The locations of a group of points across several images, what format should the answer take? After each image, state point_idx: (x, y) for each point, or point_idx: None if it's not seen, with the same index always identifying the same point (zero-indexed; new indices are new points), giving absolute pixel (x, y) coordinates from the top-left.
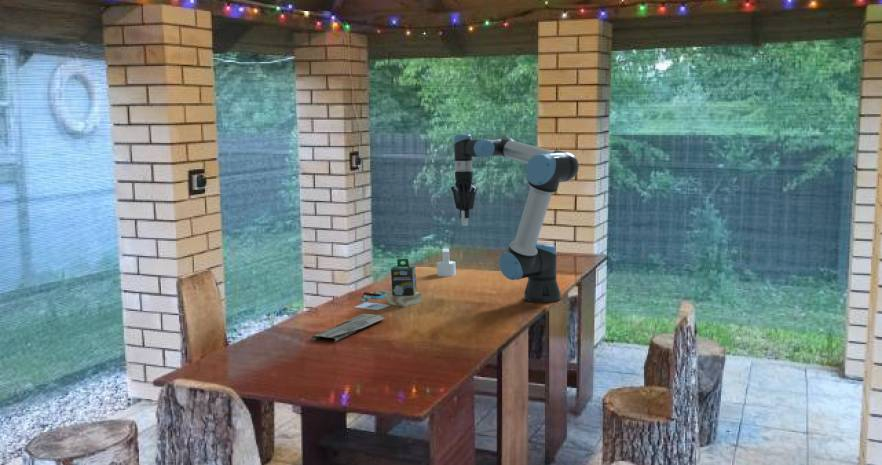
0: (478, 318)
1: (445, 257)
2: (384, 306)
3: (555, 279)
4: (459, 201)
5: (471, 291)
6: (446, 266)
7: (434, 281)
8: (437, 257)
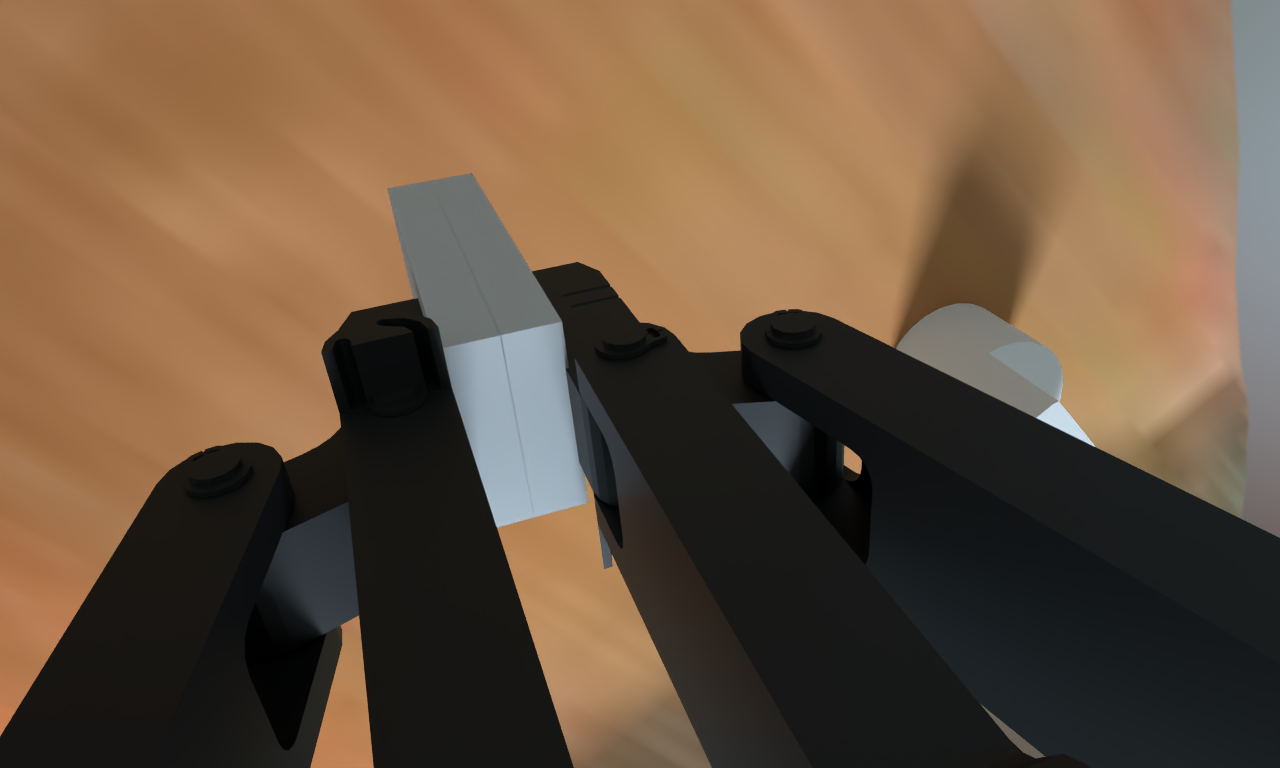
0: None
1: (1005, 392)
2: None
3: None
4: (782, 495)
5: (359, 96)
6: (954, 363)
7: (883, 155)
8: None
